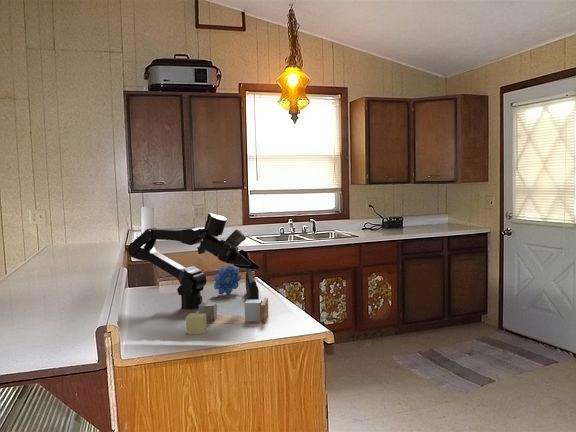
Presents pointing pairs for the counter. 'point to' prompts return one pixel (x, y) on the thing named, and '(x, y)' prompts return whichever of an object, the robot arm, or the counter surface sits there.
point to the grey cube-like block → (208, 310)
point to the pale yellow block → (196, 323)
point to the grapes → (227, 279)
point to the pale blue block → (253, 310)
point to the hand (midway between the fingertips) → (254, 266)
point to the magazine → (251, 286)
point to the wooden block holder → (242, 317)
